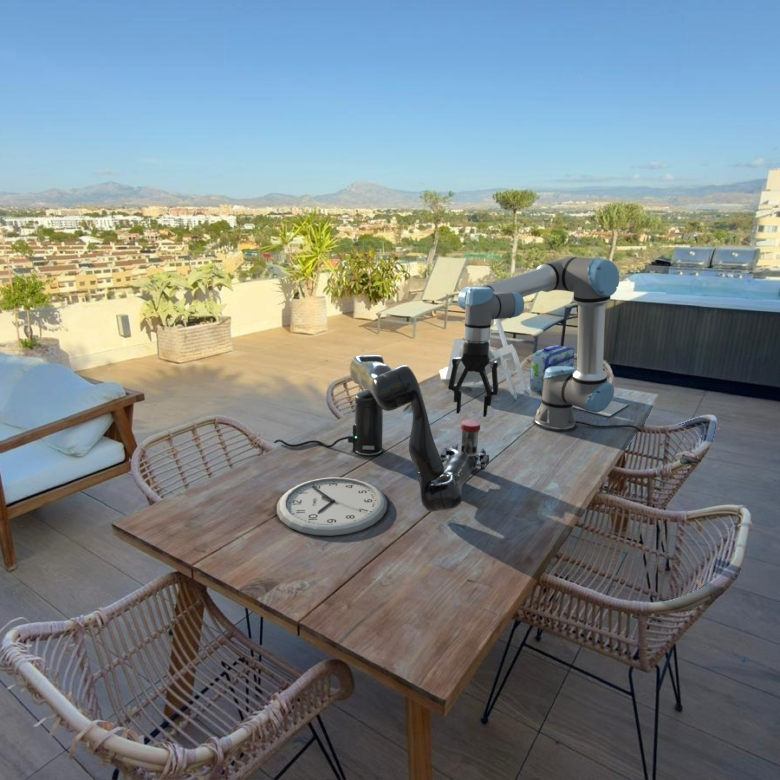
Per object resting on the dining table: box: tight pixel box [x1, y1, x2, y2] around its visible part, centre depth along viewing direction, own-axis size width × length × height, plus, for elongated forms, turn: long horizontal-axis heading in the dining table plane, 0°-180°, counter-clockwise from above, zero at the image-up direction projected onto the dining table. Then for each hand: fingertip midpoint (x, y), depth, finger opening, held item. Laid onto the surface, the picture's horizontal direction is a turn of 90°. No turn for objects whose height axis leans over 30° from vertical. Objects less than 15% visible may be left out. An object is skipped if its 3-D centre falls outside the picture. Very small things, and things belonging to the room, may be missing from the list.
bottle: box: [460, 429, 479, 472], centre depth 164 cm, size 5×5×15 cm
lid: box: [460, 419, 481, 433], centre depth 162 cm, size 6×6×2 cm
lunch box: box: [529, 345, 575, 394], centre depth 245 cm, size 26×11×21 cm, turn 134°
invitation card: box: [573, 400, 629, 418], centre depth 226 cm, size 21×1×15 cm
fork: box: [403, 403, 411, 411], centre depth 222 cm, size 3×16×2 cm, turn 160°
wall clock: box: [276, 476, 388, 537], centre depth 142 cm, size 30×2×30 cm
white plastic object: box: [438, 319, 531, 400], centre depth 245 cm, size 37×45×31 cm
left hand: (469, 449), depth 165 cm, fingers open, 8 cm apart
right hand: (471, 413), depth 161 cm, fingers open, 7 cm apart
